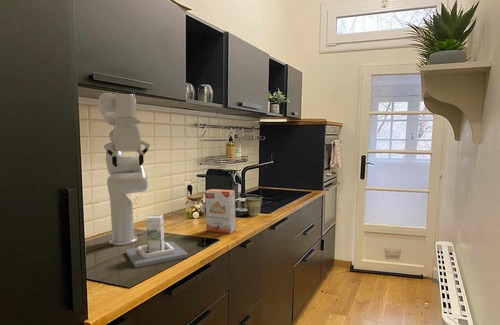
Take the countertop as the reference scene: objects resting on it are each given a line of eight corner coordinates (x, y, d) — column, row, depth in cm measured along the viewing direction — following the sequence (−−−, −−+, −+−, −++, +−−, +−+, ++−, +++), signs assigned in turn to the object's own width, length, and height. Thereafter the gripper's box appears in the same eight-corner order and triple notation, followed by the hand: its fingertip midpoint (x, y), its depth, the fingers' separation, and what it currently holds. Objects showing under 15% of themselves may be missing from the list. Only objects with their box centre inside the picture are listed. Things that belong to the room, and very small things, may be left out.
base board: (125, 253, 141) (125, 245, 141) (173, 244, 151) (172, 237, 151) (135, 268, 124) (135, 259, 124) (188, 257, 134) (188, 249, 134)
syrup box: (165, 248, 141) (163, 213, 140) (161, 253, 135) (160, 217, 134) (151, 249, 141) (149, 214, 140) (147, 253, 135) (145, 217, 134)
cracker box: (206, 231, 172) (204, 190, 170) (212, 228, 177) (210, 188, 176) (230, 234, 166) (229, 191, 164) (236, 231, 171) (235, 189, 170)
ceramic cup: (259, 216, 202) (259, 199, 201) (243, 215, 205) (243, 199, 204) (264, 211, 214) (264, 196, 214) (249, 211, 217) (249, 195, 217)
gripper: (146, 123, 143) (148, 164, 144) (101, 123, 134) (103, 166, 135) (150, 122, 136) (152, 165, 137) (103, 122, 128) (106, 167, 129)
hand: (128, 165), depth 136 cm, fingers open, 9 cm apart
